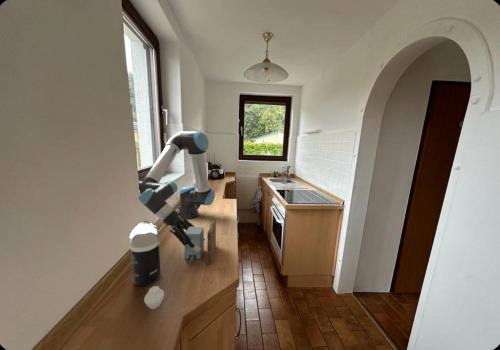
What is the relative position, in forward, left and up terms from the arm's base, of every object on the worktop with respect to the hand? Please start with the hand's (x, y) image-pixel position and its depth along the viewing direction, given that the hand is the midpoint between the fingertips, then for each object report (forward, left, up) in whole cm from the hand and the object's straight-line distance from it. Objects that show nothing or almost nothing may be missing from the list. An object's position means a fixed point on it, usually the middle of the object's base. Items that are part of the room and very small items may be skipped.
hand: (201, 245), depth 93 cm
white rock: (+30, -9, -5) cm, 32 cm away
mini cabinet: (0, -3, -5) cm, 6 cm away
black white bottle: (+17, -18, -5) cm, 26 cm away
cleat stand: (0, +1, -5) cm, 5 cm away
